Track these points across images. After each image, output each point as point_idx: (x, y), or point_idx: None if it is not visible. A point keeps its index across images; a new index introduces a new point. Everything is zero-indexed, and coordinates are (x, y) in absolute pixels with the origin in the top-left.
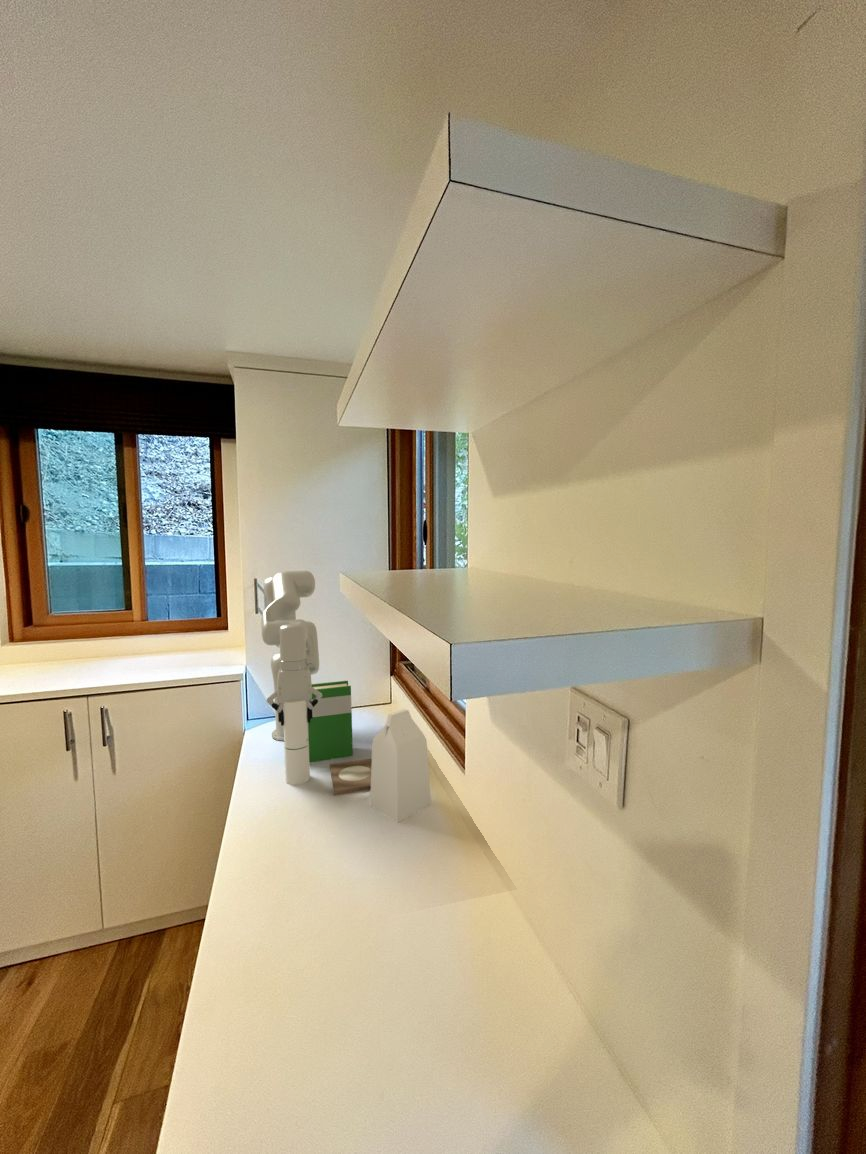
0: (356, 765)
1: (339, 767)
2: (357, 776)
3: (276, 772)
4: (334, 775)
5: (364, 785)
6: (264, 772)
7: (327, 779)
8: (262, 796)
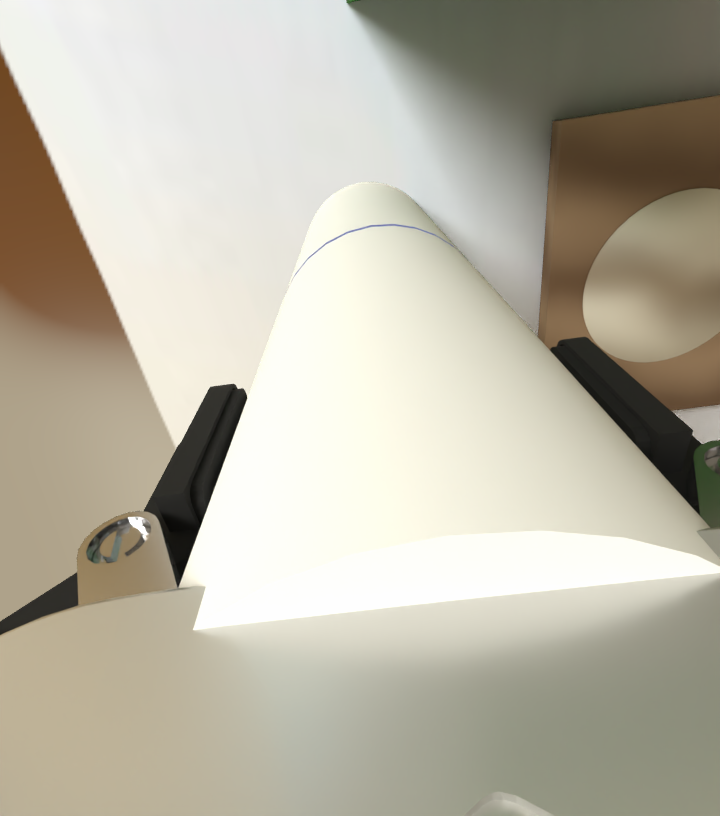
0: (712, 178)
1: (608, 189)
2: (670, 323)
3: (224, 131)
4: (562, 290)
5: (670, 403)
6: (145, 116)
7: (519, 277)
8: (238, 388)
